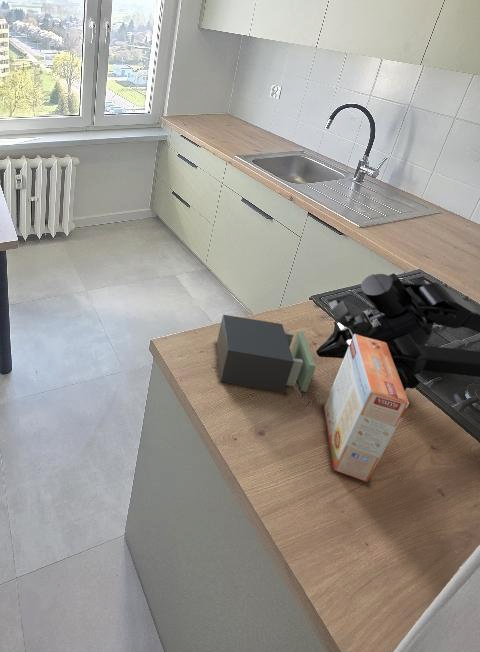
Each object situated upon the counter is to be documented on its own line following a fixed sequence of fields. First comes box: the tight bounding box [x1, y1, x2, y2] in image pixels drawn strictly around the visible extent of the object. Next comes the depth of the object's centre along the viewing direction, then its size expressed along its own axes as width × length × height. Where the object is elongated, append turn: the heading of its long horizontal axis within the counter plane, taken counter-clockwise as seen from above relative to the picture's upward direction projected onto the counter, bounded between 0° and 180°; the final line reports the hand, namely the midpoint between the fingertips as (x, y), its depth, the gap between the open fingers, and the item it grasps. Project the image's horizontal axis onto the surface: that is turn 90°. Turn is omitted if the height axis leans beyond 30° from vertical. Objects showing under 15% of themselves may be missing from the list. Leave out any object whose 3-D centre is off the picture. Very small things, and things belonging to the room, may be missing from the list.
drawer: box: [284, 330, 317, 392], centre depth 94 cm, size 14×10×8 cm
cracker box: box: [323, 334, 410, 483], centre depth 77 cm, size 14×6×21 cm, turn 160°
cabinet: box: [216, 314, 294, 394], centre depth 95 cm, size 13×11×9 cm
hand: (317, 354), depth 92 cm, fingers closed
